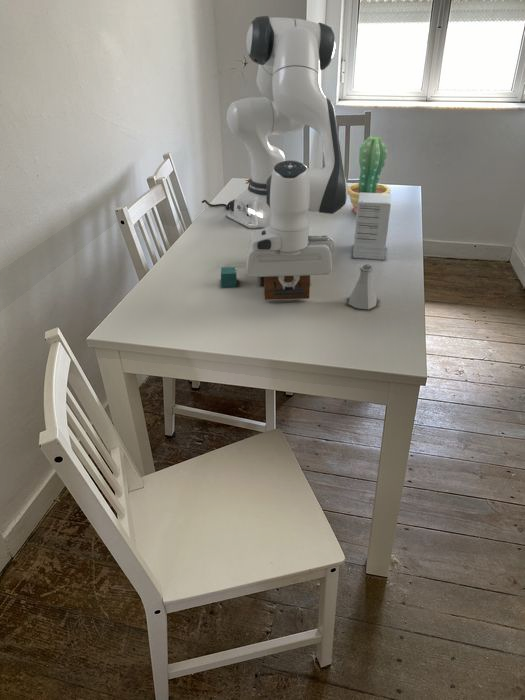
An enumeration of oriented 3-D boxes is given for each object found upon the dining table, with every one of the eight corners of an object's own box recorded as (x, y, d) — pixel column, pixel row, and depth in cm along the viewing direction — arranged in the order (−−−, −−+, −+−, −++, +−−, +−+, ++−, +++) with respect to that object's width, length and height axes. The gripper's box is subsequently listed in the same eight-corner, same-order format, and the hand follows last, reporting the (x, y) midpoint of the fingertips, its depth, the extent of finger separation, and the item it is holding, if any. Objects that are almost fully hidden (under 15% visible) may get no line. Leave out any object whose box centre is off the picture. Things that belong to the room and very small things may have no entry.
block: (221, 287, 142) (220, 273, 140) (222, 280, 145) (221, 267, 143) (236, 286, 142) (235, 273, 140) (236, 280, 145) (236, 266, 143)
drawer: (311, 309, 129) (312, 285, 126) (265, 311, 129) (265, 286, 125) (303, 271, 147) (303, 249, 143) (262, 272, 147) (261, 250, 143)
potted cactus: (392, 207, 192) (402, 134, 178) (382, 221, 180) (391, 144, 166) (351, 201, 197) (357, 130, 183) (338, 215, 186) (344, 140, 172)
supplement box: (384, 260, 154) (391, 203, 145) (352, 258, 156) (357, 202, 146) (384, 247, 162) (391, 192, 153) (354, 245, 164) (359, 191, 154)
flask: (370, 312, 130) (374, 276, 124) (343, 305, 133) (346, 269, 127) (381, 300, 135) (385, 264, 129) (355, 293, 138) (358, 258, 132)
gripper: (332, 230, 124) (329, 283, 132) (245, 232, 123) (247, 285, 131) (336, 240, 119) (332, 295, 126) (245, 243, 118) (247, 298, 126)
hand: (288, 290), depth 129 cm, fingers closed, pressing on drawer
